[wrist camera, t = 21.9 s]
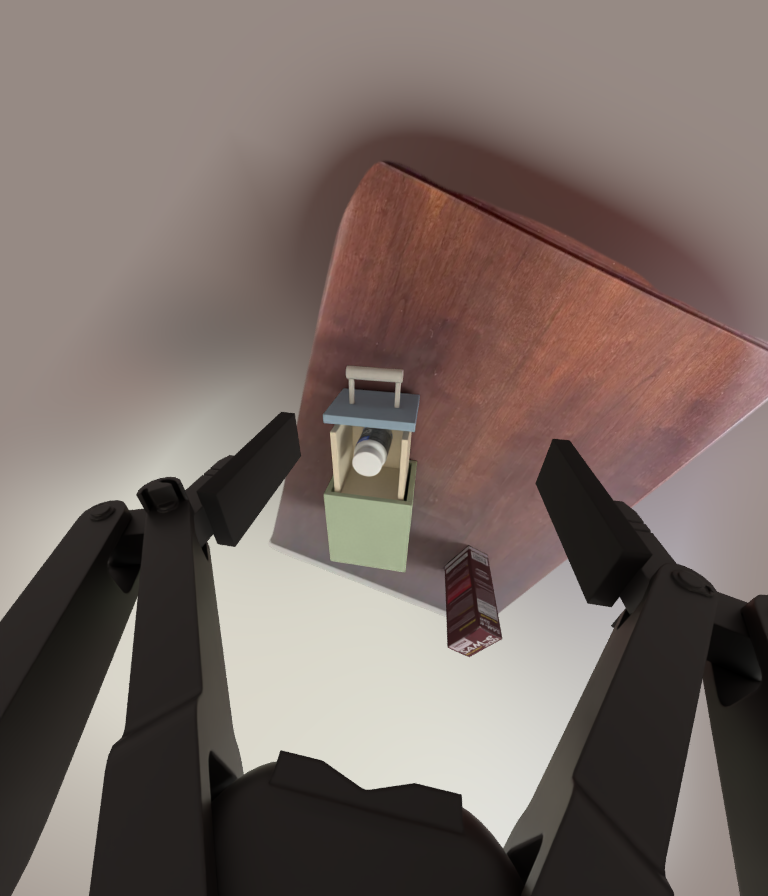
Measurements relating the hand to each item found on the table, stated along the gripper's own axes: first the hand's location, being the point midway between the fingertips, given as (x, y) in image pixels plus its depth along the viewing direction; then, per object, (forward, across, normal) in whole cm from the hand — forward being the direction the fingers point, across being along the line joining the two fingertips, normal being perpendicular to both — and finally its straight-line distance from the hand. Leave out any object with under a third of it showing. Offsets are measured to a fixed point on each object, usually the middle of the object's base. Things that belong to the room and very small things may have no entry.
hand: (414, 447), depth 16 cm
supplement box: (+28, +12, -43) cm, 53 cm away
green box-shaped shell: (+28, -6, -27) cm, 40 cm away
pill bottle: (+26, -6, -14) cm, 31 cm away
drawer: (+27, -6, -12) cm, 31 cm away
